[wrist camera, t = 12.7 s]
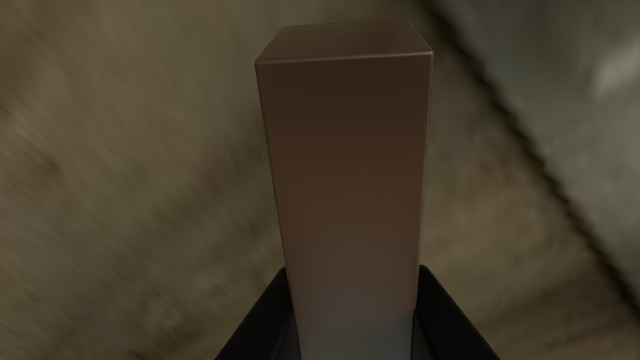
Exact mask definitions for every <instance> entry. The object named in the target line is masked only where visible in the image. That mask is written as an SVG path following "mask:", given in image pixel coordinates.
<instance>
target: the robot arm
mask: <svg viewBox="0 0 640 360" xmlns="http://www.w3.org/2000/svg"><path fill="white" fill-rule="evenodd" d="M214 360H301V359H300V352H299V345H298V338H297V331H296V325H295V318H294V311H293V309H292V306H291V299H290V293H289V286H288V280H287V273H286V267H285V266H284V267H282V268H281V269H280V270H279V272H278V273H277V274H276V276H275V277H274V279H273V280H272V281H271V283H270V284H269V285H268V287H267V288H266V290H265V291H264V292H263V294H262V295H261V296H260V298H259V299H258V300H257V302H256V303H255V305H254V306H253V307H252V309H251V310H250V311H249V313H248V314H247V316H246V317H245V318H244V320H243V321H242V322H241V324H240V325H239V326H238V328H237V329H236V331H235V332H234V333H233V335H232V336H231V337H230V339H229V340H228V342H227V343H226V344H225V346H224V347H223V348H222V350H221V351H220V352H219V354H218V355H217V357H216V358H215V359H214ZM411 360H500V358H499V357H498V356H497V354H496V353H495V352H494V351H493V349H492V348H491V347H490V346H489V344H488V343H487V342H486V341H485V339H484V338H483V337H482V336H481V334H480V333H479V332H478V331H477V329H476V328H475V327H474V326H473V324H472V323H471V322H470V321H469V319H468V318H467V317H466V316H465V314H464V313H463V312H462V310H461V309H460V308H459V307H458V305H457V304H456V303H455V302H454V300H453V299H452V298H451V297H450V295H449V294H448V293H447V292H446V290H445V289H444V288H443V287H442V285H441V284H440V283H439V282H438V280H437V279H436V278H435V277H434V275H433V274H432V273H431V272H430V270H429V269H428V268H427V267H426V266H425V265H419V274H418V287H417V301H416V308H415V313H414V327H413V342H412V357H411Z"/></svg>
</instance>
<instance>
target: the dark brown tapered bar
mask: <svg viewBox="0 0 640 360" xmlns="http://www.w3.org/2000/svg"><path fill="white" fill-rule="evenodd" d="M433 65H434V52H433V50H432V49H431V47H430V46H429V45H428V44H427V42H426V41H425V40H424V39H423V37H422V36H421V35H420V34H419V32H418V31H417V30H416V29H415V27H414V26H413V25H412V24H411V22H410V21H409V20H408V19H406V18H405V19H390V20H375V21H360V22H345V23H329V24H314V25H299V26H284V27H282V28H281V29H280V30H279V32H278V33H277V34H276V35H275V37H274V38H273V39H272V40H271V42H270V43H269V44H268V46H267V47H266V48H265V49H264V51H263V52H262V53H261V54H260V56H259V57H258V58H257V59H256V61H255V71H256V77H257V84H258V90H259V97H260V103H261V110H262V116H263V123H264V129H265V136H266V142H267V149H268V155H269V162H270V169H271V175H272V182H273V188H274V195H275V201H276V208H277V214H278V221H279V227H280V234H281V240H282V247H283V253H284V260H285V267H286V273H287V280H288V286H289V293H290V299H291V306H292V309H293V311H294V318H295V325H296V331H297V338H298V345H299V352H300V359H301V360H411V357H412V342H413V327H414V313H415V308H416V301H417V287H418V274H419V260H420V246H421V232H422V218H423V204H424V190H425V176H426V162H427V148H428V135H429V121H430V107H431V93H432V79H433Z"/></svg>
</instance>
